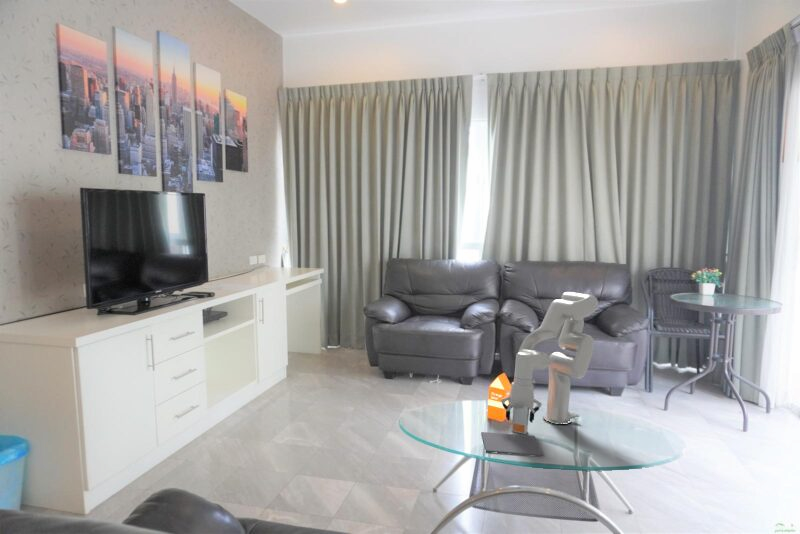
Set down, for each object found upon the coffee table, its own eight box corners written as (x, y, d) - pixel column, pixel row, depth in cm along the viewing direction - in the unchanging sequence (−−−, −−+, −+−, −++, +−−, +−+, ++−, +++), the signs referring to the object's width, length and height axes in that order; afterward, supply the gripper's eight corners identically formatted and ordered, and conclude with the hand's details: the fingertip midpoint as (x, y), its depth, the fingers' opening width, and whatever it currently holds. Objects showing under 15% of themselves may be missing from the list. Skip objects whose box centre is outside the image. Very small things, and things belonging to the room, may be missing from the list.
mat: (534, 437, 209) (534, 436, 209) (543, 456, 191) (544, 454, 191) (481, 433, 210) (481, 431, 210) (485, 452, 193) (486, 450, 192)
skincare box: (511, 431, 215) (513, 404, 214) (513, 428, 219) (515, 401, 218) (525, 434, 212) (527, 407, 211) (527, 431, 216) (529, 404, 215)
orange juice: (509, 416, 234) (512, 374, 232) (502, 421, 226) (505, 378, 225) (493, 412, 238) (496, 370, 236) (486, 417, 230) (489, 374, 229)
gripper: (541, 380, 217) (537, 419, 218) (501, 377, 218) (497, 415, 219) (545, 385, 210) (541, 425, 211) (503, 381, 211) (500, 421, 212)
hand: (519, 420), depth 215 cm, fingers open, 9 cm apart
